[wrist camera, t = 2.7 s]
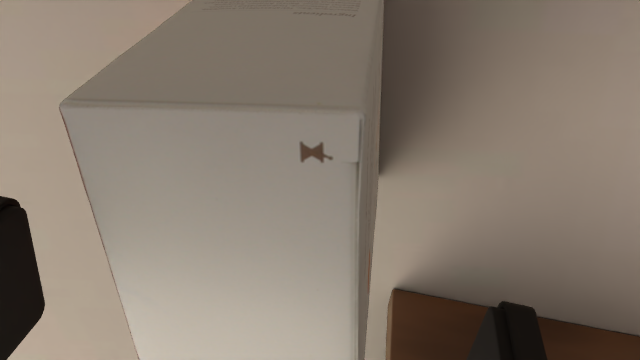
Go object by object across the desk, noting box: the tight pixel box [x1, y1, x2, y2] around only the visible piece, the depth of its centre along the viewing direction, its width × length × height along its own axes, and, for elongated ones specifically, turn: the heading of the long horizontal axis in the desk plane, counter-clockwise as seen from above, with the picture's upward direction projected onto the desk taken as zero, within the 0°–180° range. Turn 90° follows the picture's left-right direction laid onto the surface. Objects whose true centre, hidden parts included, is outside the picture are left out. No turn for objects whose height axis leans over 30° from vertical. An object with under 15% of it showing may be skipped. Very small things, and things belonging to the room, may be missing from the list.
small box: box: [59, 0, 384, 360], centre depth 15 cm, size 8×6×10 cm
